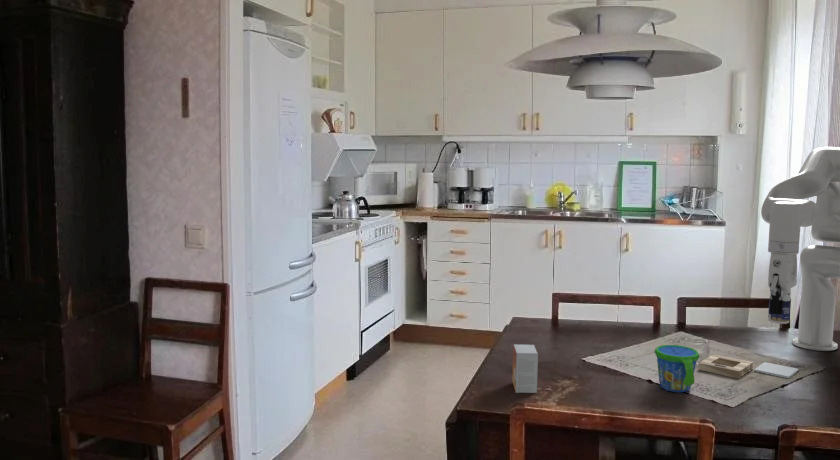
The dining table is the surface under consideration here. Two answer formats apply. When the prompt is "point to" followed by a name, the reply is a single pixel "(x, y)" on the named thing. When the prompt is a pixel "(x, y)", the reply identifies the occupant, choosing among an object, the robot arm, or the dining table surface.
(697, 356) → the snack cup
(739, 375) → the socket plate
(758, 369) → the coaster
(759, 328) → the dining table surface
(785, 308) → the pill bottle
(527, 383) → the small box
